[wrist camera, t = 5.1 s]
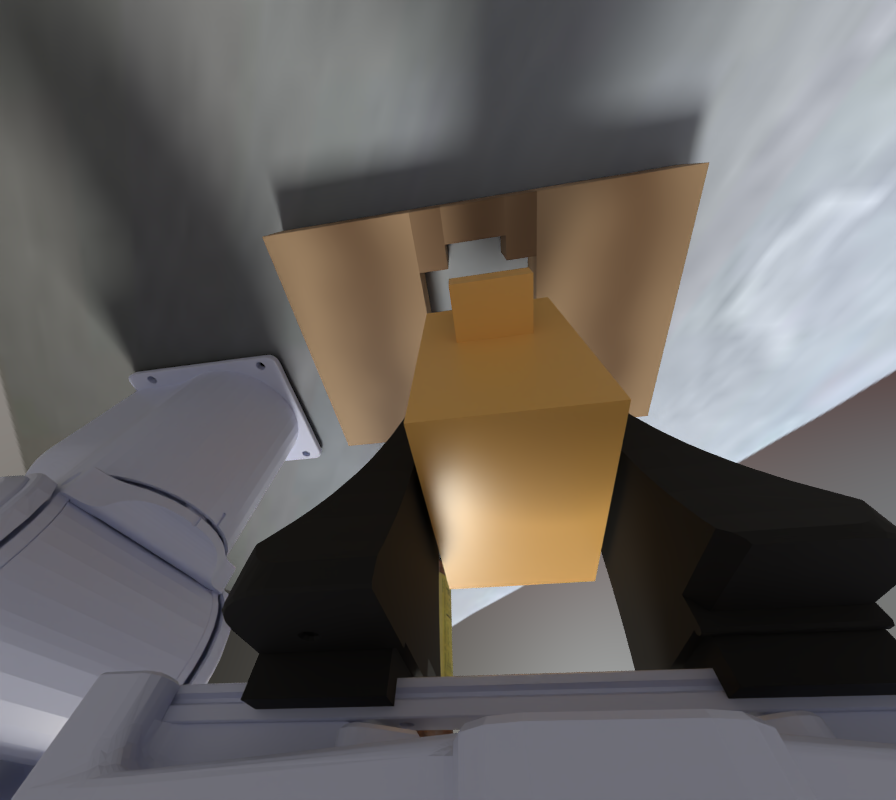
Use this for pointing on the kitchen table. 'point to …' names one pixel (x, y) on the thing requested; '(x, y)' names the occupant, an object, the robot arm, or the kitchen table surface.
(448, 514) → the block
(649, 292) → the pocket board
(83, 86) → the kitchen table surface
